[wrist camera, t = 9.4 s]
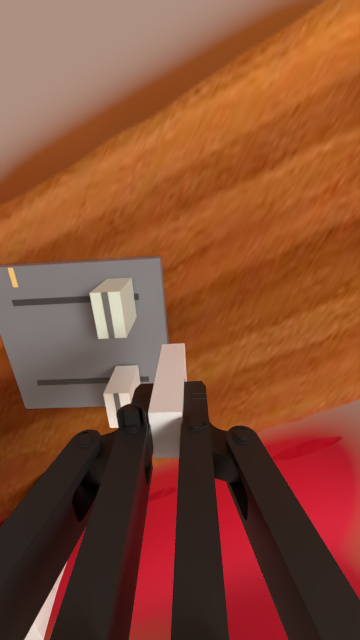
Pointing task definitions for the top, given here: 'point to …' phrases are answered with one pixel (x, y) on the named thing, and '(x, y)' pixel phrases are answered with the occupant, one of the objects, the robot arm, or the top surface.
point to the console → (77, 328)
